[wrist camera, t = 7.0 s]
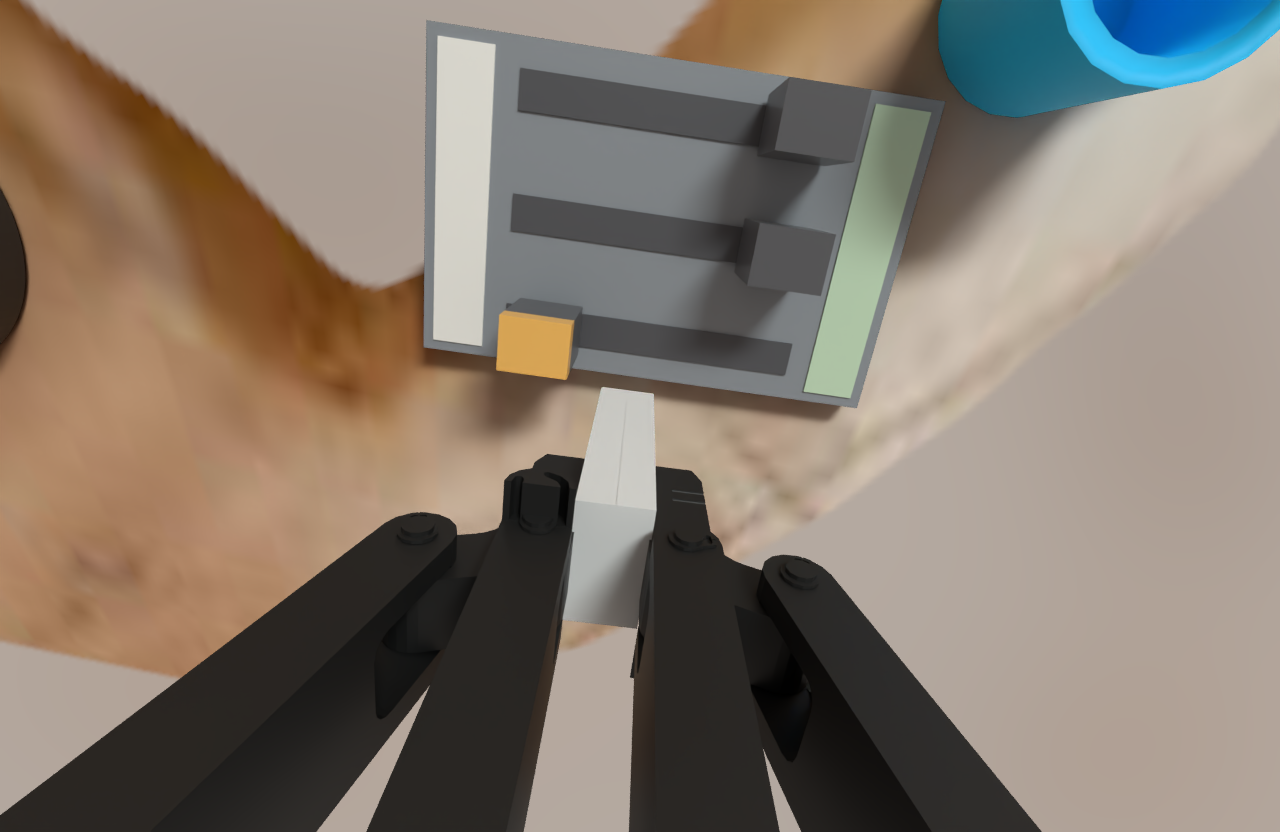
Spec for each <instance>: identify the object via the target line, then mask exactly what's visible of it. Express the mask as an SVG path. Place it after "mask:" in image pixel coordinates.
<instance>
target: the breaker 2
mask: <svg viewBox="0 0 1280 832" xmlns="http://www.w3.org/2000/svg"><path fill="white" fill-rule="evenodd" d="M835 237H836V234H832V233H828V232H824V231H820V230H816V229H812V228H806V227H799V226H792V225H786V224H779V223H772V222H765V221H759V220H752V219H745V220H744V225H743V230H742V235H741V241H740V246H739V251H738V256H737V261H736V266H735V273H736V274H737V275H738V276H739V278H740V279H741V280H742V281H743V282H744V283H745V284H746V285H747V286H754V287H761V288H768V289H775V290H782V291H788V292H795V293H802V294H809V295H816V296H821V294H822V290H823V286H824V282H825V278H826V274H827V270H828V266H829V262H830V257H831V253H832V249H833V245H834V241H835Z"/></svg>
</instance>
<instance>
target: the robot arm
mask: <svg viewBox="0 0 1280 832" xmlns="http://www.w3.org/2000/svg"><path fill="white" fill-rule="evenodd" d="M24 290H25V263H24V255H23V250H22V244H21V240H20V237H19V233H18V230H17V227H16V224H15V221H14V218H13V216H12V213H11V211H10V208H9V206H8V204H7V202H6V200H5V197H4V195H3V194H2V192H1V190H0V343H1V342H2V341H3V340H4V339H5V338H6V337H7V335H8V334H9V333H10V331H11V330H12V328H13V326H14V324H15V322H16V320H17V318H18V316H19V313H20V310H21V307H22V302H23V298H24ZM638 619H639V627H638V633H637V639H636V645H635V651H634V657H633V663H632V669H631V675H630V677H631V678H634V696H633V727H632V756H631V787H630V817H629V819H630V820H629V832H780V831H779V826H778V821H777V816H776V811H775V807H774V801H773V796H772V792H771V786H770V782H769V777H768V772H767V766H766V762H765V757H764V751H765V754H766V756H767V758H768V760H769V762H770V764H771V767H772V769H773V771H774V773H775V775H776V777H777V780H778V782H779V784H780V786H781V788H782V791H783V793H784V795H785V797H786V799H787V802H788V804H789V806H790V808H791V810H792V812H793V814H794V817H795V819H796V821H797V823H798V825H799V828H800V830H801V832H1041V830H1040V829H1039V828H1038V827H1037V825H1036V824H1035V823H1034V822H1033V821H1032V819H1031V818H1030V817H1029V816H1028V814H1027V813H1026V812H1025V811H1024V810H1023V808H1022V807H1021V806H1020V805H1019V803H1018V802H1017V801H1016V800H1015V799H1014V797H1013V796H1012V795H1011V794H1010V793H1009V791H1008V790H1007V789H1006V788H1005V786H1004V785H1003V784H1002V783H1001V782H1000V780H999V779H998V778H997V777H996V775H995V774H994V773H993V772H992V770H991V769H990V768H989V767H988V766H987V764H986V763H985V762H984V761H983V760H982V758H981V757H980V756H979V755H978V753H977V752H976V751H975V750H974V749H973V747H972V746H971V745H970V744H969V742H968V741H967V740H966V739H965V738H964V736H963V735H962V734H961V733H960V731H959V730H958V729H957V728H956V727H955V725H954V724H953V723H952V722H951V720H950V719H949V718H948V717H947V716H946V714H945V713H944V712H943V711H942V709H941V708H940V707H939V706H938V705H937V703H936V702H935V701H934V700H933V698H932V697H931V696H930V695H929V694H928V692H927V691H926V690H925V689H924V688H923V686H922V685H921V684H920V683H919V681H918V680H917V679H916V678H915V677H914V675H913V674H912V673H911V672H910V670H909V669H908V668H907V667H906V666H905V664H904V663H903V662H902V661H901V659H900V658H899V657H898V656H897V655H896V653H895V652H894V651H893V650H892V649H891V647H890V646H889V645H888V644H887V642H886V641H885V640H884V639H883V638H882V637H881V635H880V634H879V633H878V632H877V630H876V629H875V628H874V626H873V625H872V624H871V623H870V622H869V620H868V619H867V618H866V617H865V616H864V614H863V613H862V612H861V611H860V609H859V608H858V607H857V606H856V605H855V603H854V602H853V601H852V600H851V598H850V597H849V596H848V595H847V594H846V592H845V591H844V590H843V589H842V588H841V586H840V585H839V584H838V583H837V581H836V580H835V579H834V578H833V577H832V575H831V574H829V573H828V572H827V571H826V570H825V569H824V568H823V567H821V566H819V565H818V564H816V563H814V562H812V561H810V560H808V559H806V558H801V557H799V556H791V555H779V556H773V557H771V558H769V559H768V560H766V561H765V562H764V566H763V568H762V570H759V569H755V568H752V567H749V566H746V565H743V564H741V563H738V562H736V561H734V560H732V559H730V558H729V557H727V556H725V555H724V552H723V547H722V544H721V543H720V541H719V539H718V538H717V537H716V536H715V535H714V534H713V533H711V532H710V526H709V521H708V515H707V510H706V505H705V499H704V495H703V487H702V482H701V481H700V480H699V479H698V477H697V476H696V475H695V474H694V473H693V472H692V471H689V470H681V469H673V468H665V467H657V466H655V428H654V394H652V393H645V392H637V391H630V390H622V389H615V388H607V387H602V388H601V392H600V397H599V401H598V405H597V409H596V414H595V418H594V422H593V426H592V431H591V435H590V439H589V444H588V448H587V452H586V456H585V459H582V458H574V457H567V456H559V455H551V454H547V455H545V456H544V457H542V458H540V459H539V460H537V461H536V462H535V463H534V465H533V468H531V469H525V470H519V471H517V472H515V473H512V474H510V475H509V476H508V477H507V478H506V479H505V480H504V496H503V513H502V521H501V523H500V525H499V528H497V529H495V530H492V531H488V532H484V533H477V534H466V535H457V529H456V525H455V524H454V523H453V522H452V521H451V520H450V519H448V518H446V517H444V516H441V515H439V514H432V513H426V512H420V513H418V512H417V513H410V514H406V515H402V516H398V517H395V518H394V519H392V520H390V521H388V522H386V523H384V524H383V525H382V526H380V527H379V528H378V529H377V530H375V531H374V532H373V533H371V534H370V535H369V536H367V537H366V538H365V539H363V540H362V541H361V542H359V543H358V544H357V545H355V546H354V547H353V548H351V549H350V550H349V551H348V552H346V553H345V554H344V555H342V556H341V557H340V558H338V559H337V560H336V561H334V562H333V563H332V564H330V565H329V566H328V567H326V568H325V569H324V570H323V571H321V572H320V573H319V574H317V575H316V576H315V577H313V578H312V579H311V580H309V581H308V582H307V583H305V584H304V585H303V586H301V587H300V588H299V589H297V590H296V591H295V592H294V593H292V594H291V595H290V596H288V597H287V598H286V599H284V600H283V601H282V602H280V603H279V604H278V605H276V606H275V607H274V608H272V609H271V610H270V611H269V612H267V613H266V614H265V615H263V616H262V617H261V618H259V619H258V620H257V621H255V622H254V623H253V624H251V625H250V626H249V627H247V628H246V629H245V630H243V631H242V632H241V633H240V634H238V635H237V636H236V637H234V638H233V639H232V640H230V641H229V642H228V643H226V644H225V645H224V646H222V647H221V648H220V649H218V650H217V651H216V652H215V653H213V654H212V655H211V656H209V657H208V658H207V659H205V660H204V661H203V662H201V663H200V664H199V665H197V666H196V667H195V668H193V669H192V670H191V671H189V672H188V673H187V674H186V675H184V676H183V677H182V678H180V679H179V680H178V681H176V682H175V683H174V684H172V685H171V686H170V687H169V688H167V689H166V690H165V691H163V692H162V693H161V694H159V695H158V696H157V697H155V698H154V699H153V700H151V701H150V702H149V703H147V704H146V705H145V706H144V707H142V708H141V709H139V710H138V711H137V712H136V713H134V714H133V715H132V716H130V717H129V718H128V719H126V720H125V721H124V722H122V723H121V724H120V725H118V726H117V727H116V728H114V729H113V730H112V731H110V732H109V733H108V734H107V735H105V736H104V737H103V738H101V739H100V740H99V741H97V742H96V743H95V744H93V745H92V746H91V747H90V748H88V749H87V750H85V751H84V752H83V753H82V754H80V755H79V756H78V757H76V758H75V759H74V760H72V761H71V762H70V763H68V764H67V765H66V766H64V767H63V768H62V769H60V770H59V771H58V772H57V773H55V774H54V775H53V776H51V777H50V778H49V779H47V780H46V781H45V782H43V783H42V784H41V785H39V786H38V787H37V788H35V789H34V790H33V791H31V792H30V793H29V794H28V795H27V796H25V797H24V798H22V799H21V800H20V801H18V802H17V803H16V804H14V805H13V806H12V807H11V808H9V809H8V810H7V811H5V812H4V813H2V814H1V815H0V832H316V831H317V830H318V829H319V827H320V826H321V825H322V824H323V822H324V821H325V820H326V818H327V817H328V816H329V814H330V813H331V812H332V811H333V809H334V808H335V807H336V806H337V804H338V803H339V802H340V800H341V799H342V798H343V797H344V795H345V794H346V793H347V791H348V790H349V789H350V787H351V786H352V785H353V784H354V782H355V781H356V780H357V778H358V777H359V776H360V775H361V773H362V772H363V771H364V769H365V768H366V767H367V766H368V764H369V763H370V762H371V760H372V759H373V758H374V757H375V755H376V754H377V753H378V751H379V750H380V749H381V747H382V746H383V745H384V744H385V742H386V741H387V740H388V738H389V737H390V736H391V735H392V733H393V732H394V731H395V729H396V728H397V727H398V725H399V724H400V723H401V722H402V720H403V719H404V718H405V717H406V715H407V714H408V713H409V711H410V710H411V709H412V707H413V706H414V705H415V703H416V702H417V701H418V700H419V698H420V697H421V696H422V695H423V693H424V692H425V691H426V689H427V688H428V687H429V689H428V691H427V694H426V696H425V698H424V700H423V703H422V705H421V707H420V709H419V712H418V714H417V716H416V719H415V721H414V723H413V726H412V728H411V730H410V732H409V735H408V737H407V739H406V742H405V744H404V746H403V749H402V751H401V753H400V755H399V758H398V760H397V762H396V765H395V767H394V769H393V772H392V774H391V776H390V778H389V781H388V783H387V785H386V788H385V790H384V792H383V795H382V797H381V799H380V801H379V804H378V807H377V808H376V811H375V813H374V815H373V818H372V820H371V822H370V824H369V827H368V829H367V832H523V831H524V827H525V821H526V815H527V811H528V805H529V800H530V795H531V789H532V785H533V779H534V774H535V769H536V764H537V758H538V753H539V748H540V742H541V738H542V732H543V727H544V722H545V717H546V711H547V706H548V701H549V696H550V691H551V685H552V680H553V675H554V670H555V664H556V659H557V654H558V649H559V643H560V638H561V629H562V620H568V621H577V622H585V623H594V624H602V625H611V626H619V627H628V628H636V629H637V625H638ZM763 749H764V751H763Z"/></svg>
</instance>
